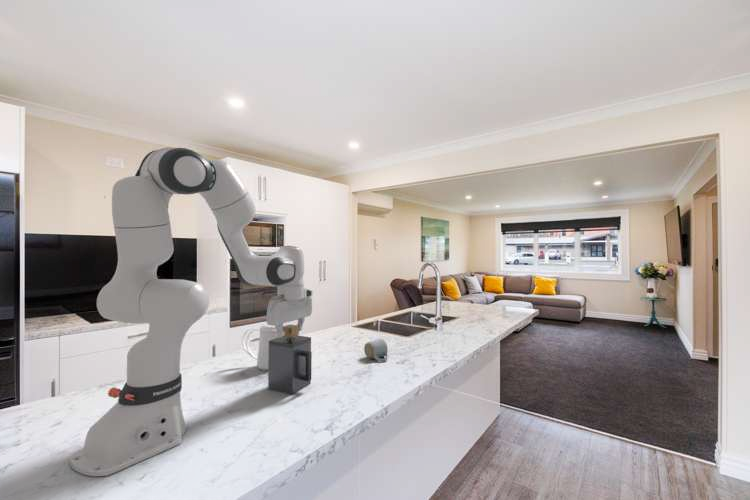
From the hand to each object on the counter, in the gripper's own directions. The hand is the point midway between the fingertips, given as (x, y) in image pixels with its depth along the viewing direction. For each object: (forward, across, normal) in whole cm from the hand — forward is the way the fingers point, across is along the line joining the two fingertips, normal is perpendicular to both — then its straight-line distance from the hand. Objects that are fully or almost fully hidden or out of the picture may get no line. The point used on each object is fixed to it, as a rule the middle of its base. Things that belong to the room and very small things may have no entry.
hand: (290, 333), depth 114 cm
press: (+18, 0, -2) cm, 18 cm away
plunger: (+17, 0, 0) cm, 17 cm away
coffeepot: (+18, +13, +19) cm, 29 cm away
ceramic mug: (+18, +41, -15) cm, 47 cm away
